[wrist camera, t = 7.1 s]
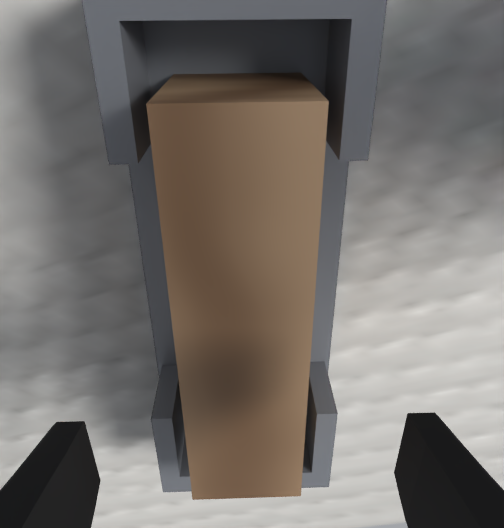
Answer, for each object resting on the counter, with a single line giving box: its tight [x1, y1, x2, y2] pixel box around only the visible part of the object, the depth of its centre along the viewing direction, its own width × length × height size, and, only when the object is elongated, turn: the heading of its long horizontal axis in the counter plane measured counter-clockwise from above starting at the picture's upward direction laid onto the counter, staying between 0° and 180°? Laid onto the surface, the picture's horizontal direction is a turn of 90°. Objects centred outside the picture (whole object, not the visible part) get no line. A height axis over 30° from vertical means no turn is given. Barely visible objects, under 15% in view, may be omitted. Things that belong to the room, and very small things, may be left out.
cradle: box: [82, 0, 387, 492], centre depth 17 cm, size 8×19×4 cm, turn 0°
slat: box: [146, 73, 329, 500], centre depth 16 cm, size 4×14×5 cm, turn 1°
